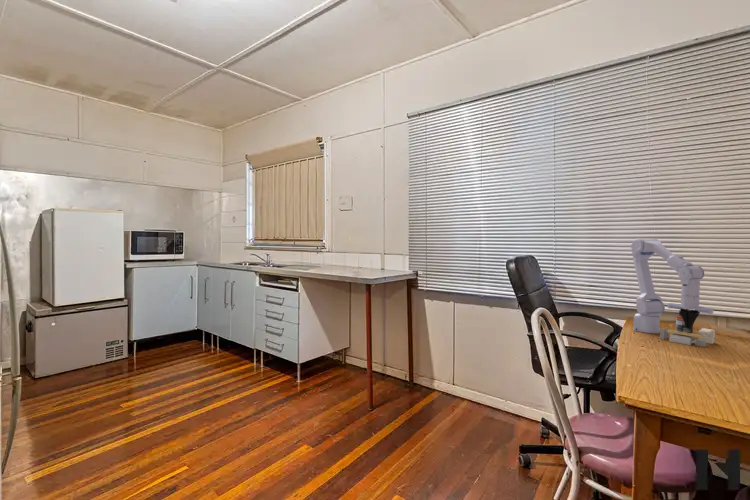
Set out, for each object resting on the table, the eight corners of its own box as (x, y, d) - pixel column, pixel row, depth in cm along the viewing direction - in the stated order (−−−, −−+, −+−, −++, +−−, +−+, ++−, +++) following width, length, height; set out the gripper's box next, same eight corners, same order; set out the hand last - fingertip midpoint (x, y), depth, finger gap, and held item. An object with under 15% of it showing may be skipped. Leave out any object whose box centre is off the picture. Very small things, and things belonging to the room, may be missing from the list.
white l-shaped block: (696, 343, 158) (696, 330, 158) (702, 340, 162) (702, 328, 162) (708, 345, 154) (709, 332, 154) (714, 342, 158) (714, 330, 158)
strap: (663, 331, 164) (663, 329, 164) (665, 330, 166) (665, 328, 166) (701, 338, 154) (701, 336, 154) (703, 337, 155) (703, 335, 155)
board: (650, 344, 161) (650, 330, 160) (670, 336, 173) (670, 323, 173) (698, 354, 148) (699, 339, 147) (716, 345, 160) (717, 331, 160)
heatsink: (669, 341, 161) (669, 334, 161) (675, 339, 165) (675, 332, 165) (690, 345, 155) (690, 338, 155) (696, 342, 159) (696, 335, 159)
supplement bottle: (686, 334, 178) (687, 309, 177) (695, 337, 172) (696, 312, 171) (672, 333, 178) (673, 309, 178) (681, 337, 172) (682, 312, 172)
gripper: (665, 293, 161) (664, 326, 162) (709, 298, 149) (708, 333, 150) (671, 292, 165) (670, 323, 166) (715, 297, 153) (714, 331, 154)
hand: (688, 328), depth 158 cm, fingers closed
